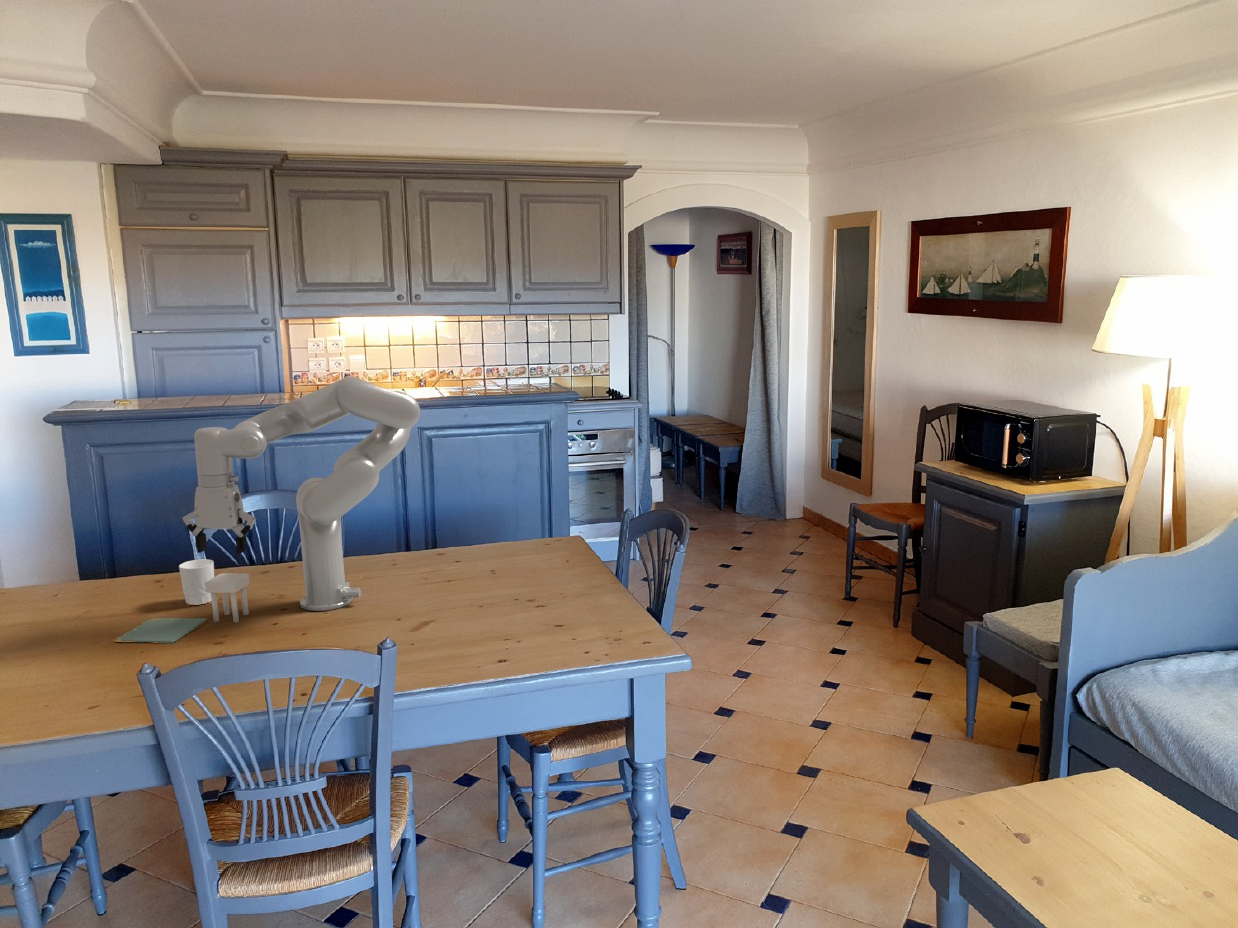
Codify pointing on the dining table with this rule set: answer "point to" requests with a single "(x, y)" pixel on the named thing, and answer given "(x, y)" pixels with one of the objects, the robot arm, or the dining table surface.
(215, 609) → the stool
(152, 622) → the mat
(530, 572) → the dining table surface
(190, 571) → the white cup
